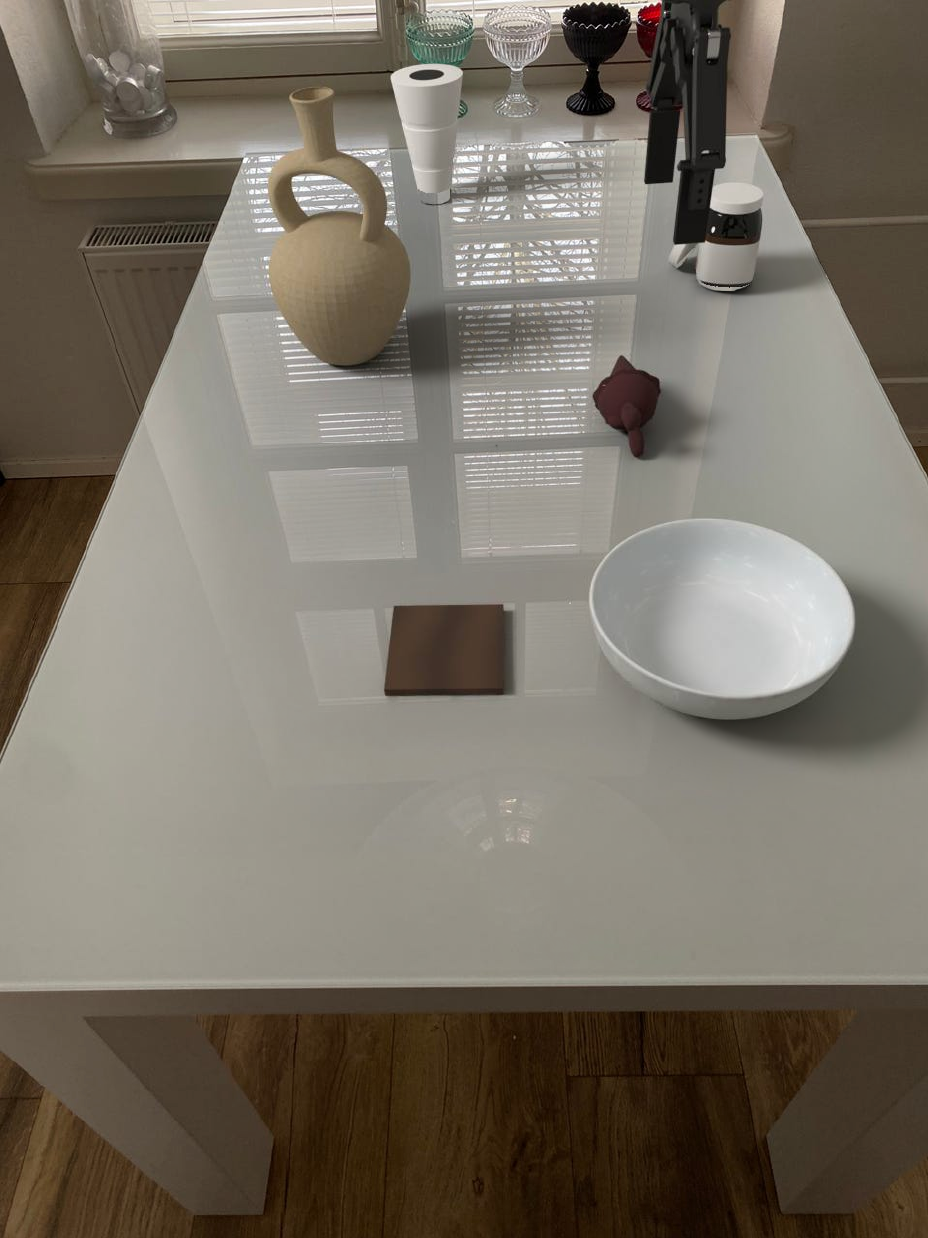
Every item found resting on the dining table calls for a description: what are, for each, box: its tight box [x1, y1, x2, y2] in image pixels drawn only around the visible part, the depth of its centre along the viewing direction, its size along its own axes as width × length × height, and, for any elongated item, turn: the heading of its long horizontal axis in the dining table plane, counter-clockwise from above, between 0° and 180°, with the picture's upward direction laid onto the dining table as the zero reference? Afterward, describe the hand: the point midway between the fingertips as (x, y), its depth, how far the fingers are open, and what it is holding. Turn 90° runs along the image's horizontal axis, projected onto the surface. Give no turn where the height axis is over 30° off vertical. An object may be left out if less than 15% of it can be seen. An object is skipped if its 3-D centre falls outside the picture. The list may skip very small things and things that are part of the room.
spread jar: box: [667, 181, 765, 288], centre depth 126 cm, size 12×11×12 cm
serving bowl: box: [588, 517, 856, 720], centre depth 80 cm, size 21×21×7 cm
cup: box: [390, 63, 464, 193], centre depth 147 cm, size 11×11×18 cm
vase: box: [267, 86, 412, 367], centre depth 110 cm, size 17×17×30 cm
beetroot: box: [592, 354, 662, 458], centre depth 105 cm, size 7×7×15 cm
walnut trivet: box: [383, 603, 505, 696], centre depth 84 cm, size 10×10×1 cm
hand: (672, 210), depth 89 cm, fingers open, 13 cm apart
